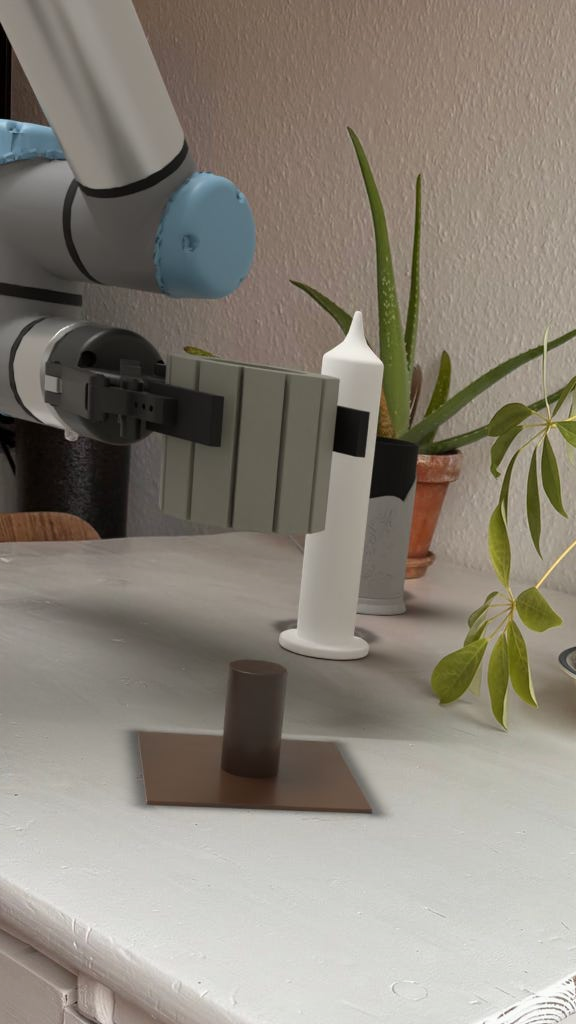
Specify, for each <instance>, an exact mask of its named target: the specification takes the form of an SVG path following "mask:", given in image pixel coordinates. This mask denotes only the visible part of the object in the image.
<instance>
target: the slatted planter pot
mask: <svg viewBox="0 0 576 1024" xmlns="http://www.w3.org/2000/svg"><path fill="white" fill-rule="evenodd" d="M165 364H166V381H165V384H170V385H174V386H178V387H183V388H188V389H192V390H197V391H201V392H206V393H210V394H215V395H219V396H224V407H223V421H222V435H221V447H211V446H206V445H202V444H199V443H195V442H191V441H187V440H184V439H180V438H176V437H172V436H169V435H165V434H162V438H161V455H160V473H159V488H158V489H159V491H158V508H159V511H160V513H162V514H164V515H167V516H170V517H173V518H176V519H179V520H182V521H184V522H190V523H194V524H197V525H204V526H209V527H215V528H220V529H225V530H226V529H232V530H233V531H241V532H250V533H260V534H268V535H271V534H276V535H284V534H290V535H304V536H306V534H313V533H317V532H321V531H324V530H325V522H326V512H327V502H328V492H329V482H330V473H331V463H332V453H333V443H334V433H335V423H336V413H337V403H338V393H339V384H340V379H339V378H335V377H332V376H327V375H322V374H321V373H316V372H311V371H307V370H306V371H304V370H299V369H293V368H288V367H281V366H275V365H271V364H262V363H257V362H250V361H243V360H235V359H229V358H222V357H215V356H214V357H213V356H206V355H198V354H189V353H181V352H171V351H170V352H166V363H165Z"/></svg>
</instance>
